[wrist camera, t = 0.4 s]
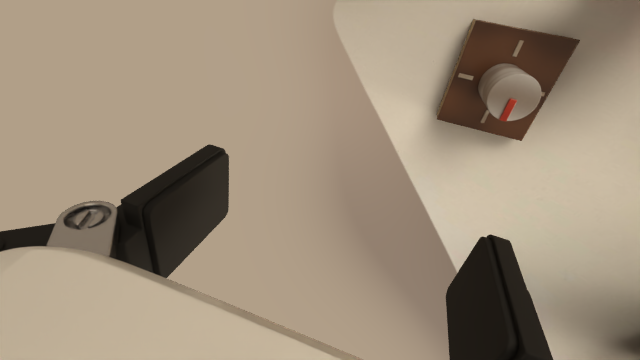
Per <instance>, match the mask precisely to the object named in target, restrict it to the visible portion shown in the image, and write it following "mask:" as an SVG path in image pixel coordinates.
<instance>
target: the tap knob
mask: <svg viewBox="0 0 640 360" xmlns="http://www.w3.org/2000/svg"><path fill="white" fill-rule="evenodd" d="M478 91H479V94H480V96H481V98H482V100H483V102H484V103H485V105H486V107H487V108H488V110H489V112H490V113H491V114H492V115H493V116H494V117H495V118H497V119H499V120H501V121H505V122H506V121H513V120H518V119H521V118H523V117H525V116H527V115H528V114H530V113H531V112H532V111H533V110H534V109H535V108H536V107H537V105H538V103H539V101H540V98H541V87H540V85H539V83H538V81H537V80H536V79H535V78H533V77H532V76H530V75H529V74H527V73H526V72H524V71H523V70H521V69H520V68H518V67H517V66H515V65H513V64H507V63H504V64H498V65H495V66H493V67H491V68H490V69H488V70H487V71H486V72H485V73H484V74H483V76H482V77H481V79H480V81H479V85H478Z"/></svg>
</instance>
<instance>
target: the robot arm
mask: <svg viewBox="0 0 640 360" xmlns="http://www.w3.org/2000/svg"><path fill="white" fill-rule="evenodd" d="M228 192H229V156H228V154H226V153H225V150H224V149H223V148H219V147H216V146H213V145H207V146H205V147H204V148H202V149H200V150H199V151H197V152H196V153H194V154H193V155H191V156H190V157H188V158H186V159H185V160H183V161H182V162H180V163H178V164H177V165H175V166H174V167H172V168H171V169H169V170H167V171H166V172H164V173H163V174H161V175H160V176H158V177H156V178H155V179H153V180H151V181H150V182H148V183H147V184H145V185H144V186H142V187H141V188H139V189H137V190H136V191H134V192H132V193H131V194H129V195H128V196H126V197H125V198H123V199H121V203H122V204H121V205H120V206H118V207H117V208H116V207H115V206H114V205H113V204H111V203H109V202H104V201H90V202H84V203H80V204H77V205H74V206H72V207H70V208H68V209H67V210H65V211H64V212H63V213H61V215H60V216H59V217H58V219H57V221H56V223H55V224H48V225H41V226H35V227H28V228H21V229H15V230H8V231H1V232H0V360H362V359H360V358H357V357H355V356H353V355H351V354H348V353H346V352H343V351H341V350H339V349H336V348H334V347H332V346H329V345H327V344H324V343H322V342H319V341H317V340H315V339H312V338H310V337H308V336H305V335H303V334H300V333H298V332H296V331H293V330H291V329H288V328H286V327H284V326H281V325H279V324H276V323H274V322H271V321H269V320H267V319H264V318H262V317H259V316H257V315H255V314H252V313H250V312H247V311H245V310H242V309H240V308H237V307H235V306H233V305H230V304H228V303H225V302H223V301H221V300H218V299H216V298H213V297H211V296H208V295H206V294H203V293H201V292H198V291H196V290H194V289H191V288H188V287H186V286H184V285H181V284H178V283H176V282H174V281H172V280H169V279H167V277H168V276H169V275H170V274H171V273H172V272H173V271H174V270H175V269H176V268H177V267H178V266H179V265H180V264H181V263H182V261H183V260H184V259H185V258H186V257H187V256H188V255H189V254H190V253H191V252H192V251H193V250H194V249H195V248H196V247H197V246H198V245H199V244H200V243H201V242H202V241H203V240H204V239H205V238H206V236H207V235H208V234H209V233H210V232H211V231H212V230H213V229H214V228H215V227H216V226H217V225H218V224H219V223H220V222H221V221H222V220H223V219H224V218H225V216H226V215H227V212H228V196H229V194H228ZM446 306H447V322H448V337H449V338H448V339H449V355H450V360H553V358H552V355H551V352H550V349H549V347H548V344H547V341H546V338H545V335H544V332H543V330H542V327H541V324H540V321H539V318H538V315H537V313H536V310H535V307H534V304H533V301H532V298H531V296H530V294H529V292H528V290H527V288H526V285H525V282H524V279H523V277H522V274H521V271H520V268H519V265H518V262H517V259H516V257H515V254H514V251H513V248H512V245H511V243H510V241H509V240H506V239H503V238H500V237H497V236H494V235H488V236H487V237H481V238H480V239H479V240H478V242H477V243H476V245H475V247H474V248H473V250H472V251H471V253H470V254H469V256H468V258H467V259H466V261H465V262H464V264H463V265H462V267H461V269H460V270H459V272H458V273H457V275H456V276H455V278H454V280H453V281H452V283H451V284H450V286H449V287H448V290H447V294H446Z"/></svg>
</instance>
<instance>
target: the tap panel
mask: <svg viewBox="0 0 640 360" xmlns="http://www.w3.org/2000/svg"><path fill="white" fill-rule="evenodd" d="M579 41H580V40H577V39H573V38H568V37H563V36H558V35H552V34H547V33H542V32H537V31H532V30H527V29H522V28H516V27H511V26H506V25H501V24H496V23H491V22H486V21H481V20H475V19H473V22H472V24H471V27H470V29H469V32H468V35H467V37H466V40H465V42H464V45H463V47H462V50H461V52H460V55H459V58H458V60H457V63H456V65H455V68H454V70H453V73H452V76H451V78H450V81H449V83H448V86H447V88H446V91H445V94H444V96H443V99H442V101H441V104H440V106H439V109H438V112H437V119H438V120H441V121H445V122H449V123H453V124H457V125H461V126H465V127H469V128H473V129H477V130H481V131H485V132H488V133H492V134H496V135H500V136H504V137H508V138H512V139H516V140H520V141H522V139H523V138H524V136H525V134H526V132H527V131H528V129H529V127H530V126H531V124H532V122H533V120H534V119H535V117H536V115H537V113H538V112H539V110H540V108H541V107H542V105H543V103H544V101H545V100H546V98H547V96H548V95H549V93H550V91H551V89H552V88H553V86H554V84H555V82H556V81H557V79H558V77H559V76H560V74H561V72H562V70H563V69H564V67H565V65H566V64H567V62H568V60H569V58H570V57H571V55H572V53H573V51H574V50H575V48H576V46H577V45H578V43H579ZM504 63H507V64H513V65H515V66H517V67H518V68H520V69H521V70H523V71H524V72H526V73H527V74H529V75H530V76H532V77H533V78H535V79H536V80H537V81H538V83H539V85H540V87H541V98H540V101H539V103H538V105H537V107H536V108H535V109H534V110H533V111H532V112H531V113H530V114H528V115H527V116H525V117H523V118H521V119H518V120H513V121H506V122H505V121H501V120H499V119H497V118H495V117H494V116H493V115H492V114H491V113H490V112H489V110H488V108H487V107H486V105H485V103H484V102H483V100H482V98H481V96H480V94H479V91H478V85H479V81H480V79H481V77H482V76H483V74H484V73H485V72H486V71H487V70H488V69H490V68H491V67H493V66H495V65H498V64H504Z"/></svg>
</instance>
